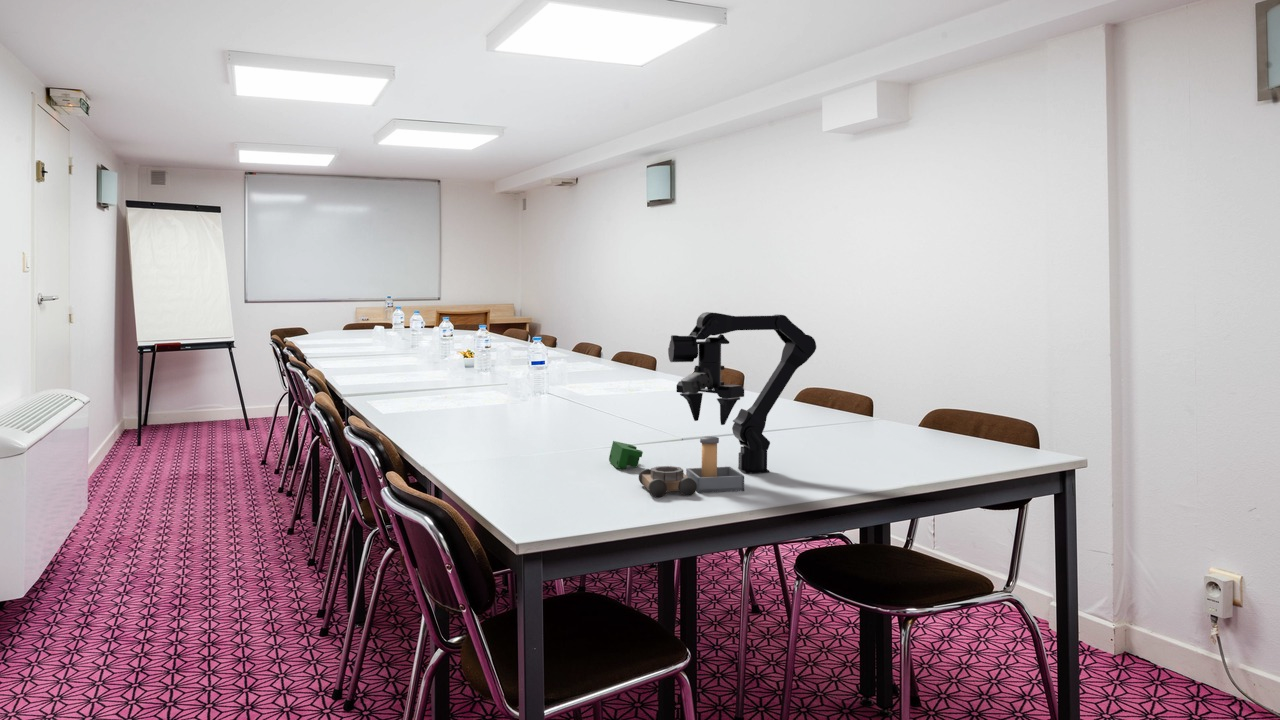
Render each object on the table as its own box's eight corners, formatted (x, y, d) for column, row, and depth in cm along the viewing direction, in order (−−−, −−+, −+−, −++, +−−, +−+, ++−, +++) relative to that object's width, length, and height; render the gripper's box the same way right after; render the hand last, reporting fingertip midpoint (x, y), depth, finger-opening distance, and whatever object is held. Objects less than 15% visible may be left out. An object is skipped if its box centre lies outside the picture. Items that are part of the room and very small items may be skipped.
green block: (633, 484, 218) (645, 456, 215) (612, 480, 217) (623, 451, 213) (628, 459, 229) (638, 432, 225) (607, 454, 227) (618, 427, 224)
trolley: (683, 483, 199) (683, 463, 199) (696, 495, 187) (696, 473, 187) (638, 485, 197) (638, 464, 197) (649, 497, 185) (649, 475, 184)
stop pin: (715, 481, 198) (715, 436, 197) (720, 485, 193) (721, 439, 193) (697, 482, 197) (697, 436, 196) (702, 486, 192) (703, 439, 192)
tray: (729, 480, 202) (729, 466, 202) (744, 490, 192) (744, 476, 191) (686, 482, 200) (686, 468, 200) (698, 493, 189) (698, 478, 189)
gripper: (661, 361, 210) (661, 421, 212) (715, 365, 197) (715, 430, 198) (691, 359, 218) (691, 417, 219) (746, 363, 204) (745, 425, 205)
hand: (709, 422), depth 210 cm, fingers open, 9 cm apart
